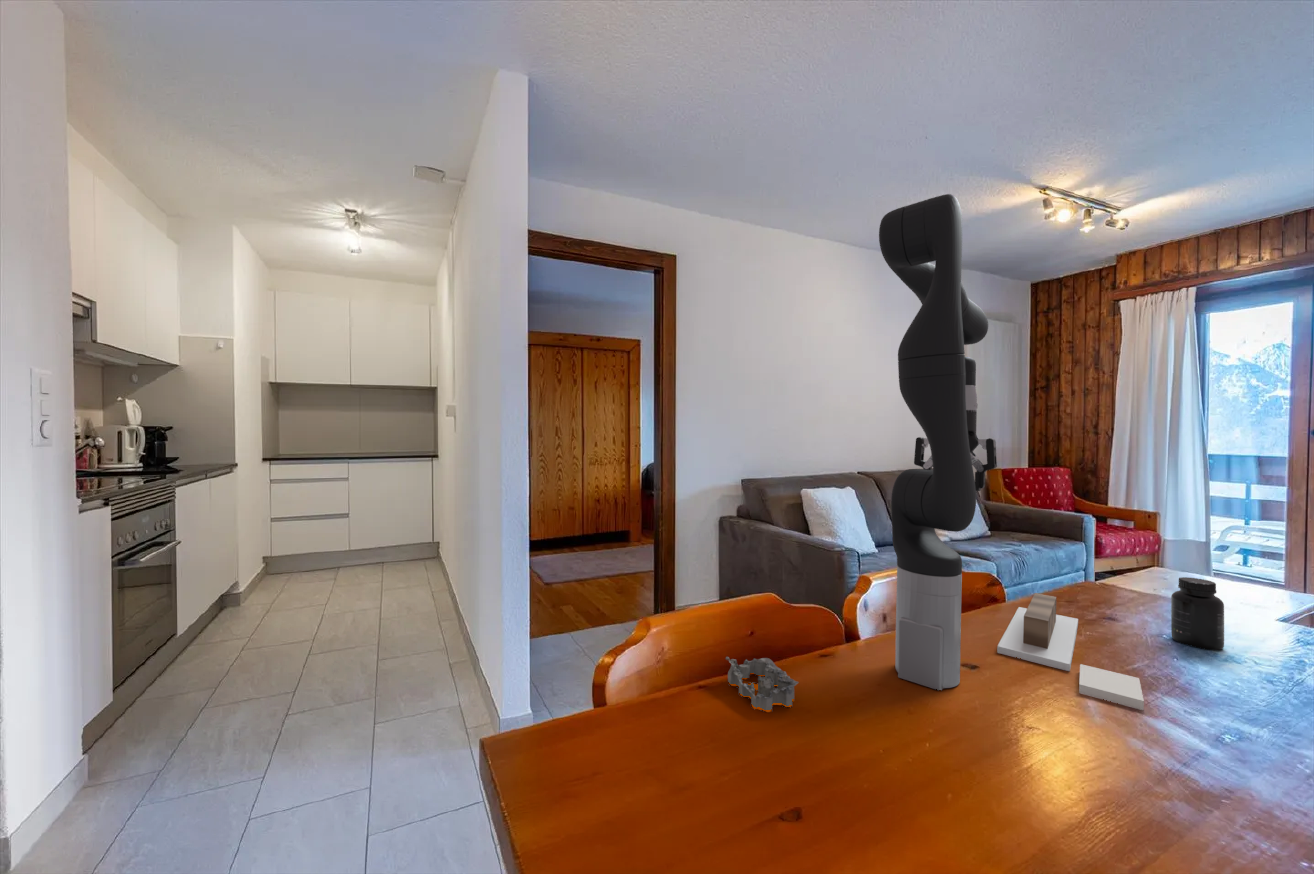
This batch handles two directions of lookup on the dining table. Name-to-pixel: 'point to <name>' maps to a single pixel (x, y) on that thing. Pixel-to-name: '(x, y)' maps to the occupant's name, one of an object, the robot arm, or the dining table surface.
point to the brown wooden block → (1039, 620)
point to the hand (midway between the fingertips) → (953, 488)
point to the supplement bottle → (1197, 614)
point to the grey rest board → (1053, 656)
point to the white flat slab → (1111, 686)
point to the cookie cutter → (763, 682)
